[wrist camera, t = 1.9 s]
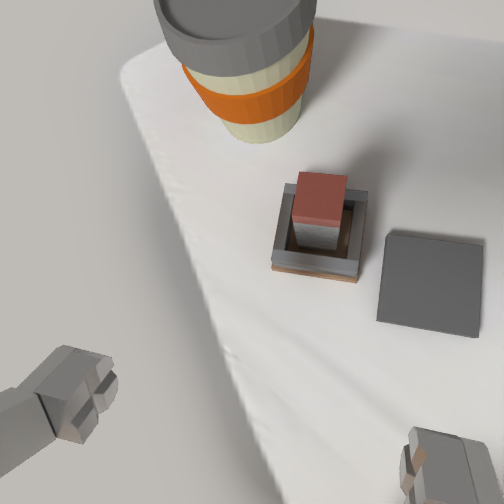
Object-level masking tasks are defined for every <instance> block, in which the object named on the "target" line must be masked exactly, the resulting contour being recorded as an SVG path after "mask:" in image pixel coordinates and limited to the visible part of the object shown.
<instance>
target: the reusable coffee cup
mask: <svg viewBox="0 0 504 504" xmlns="http://www.w3.org/2000/svg"><path fill="white" fill-rule="evenodd" d="M316 3H317V0H154V6H155V10H156V14H157V16H158V19H159V22H160V25H161V28H162V30H163V33H164V36H165V39H166V42H167V45H168V46H169V48H170V50H171V52H172V54H173V55H174V56H175V57H176V58H177V59H178V60H179V61H180V62H181V63H182V67H183V70H184V72H185V74H186V76H187V78H188V79H189V81H190V82H191V84H192V85H193V87H194V88H195V90H196V91H197V92H198V94H199V95H200V97H201V98H202V100H203V101H204V103H205V104H206V105H207V107H208V108H209V109H210V110H211V111H212V112H213V113H214V114H215V115H217V116H218V117H220V119H221V120H222V122H223V123H224V125H225V126H226V128H227V129H228V131H229V132H230V133H231V134H232V135H233V136H234V137H236V138H237V139H239V140H241V141H244V142H247V143H252V144H262V143H268V142H271V141H274V140H276V139H278V138H280V137H282V136H283V135H285V134H286V133H287V132H288V131H290V129H291V128H292V127H293V126H294V125H295V123H296V121H297V119H298V117H299V114H300V110H301V101H302V93H303V92H304V90H305V88H306V85H307V82H308V77H309V70H310V62H311V55H312V47H313V38H314V29H313V23H312V22H313V19H314V16H315V13H316Z"/></svg>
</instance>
